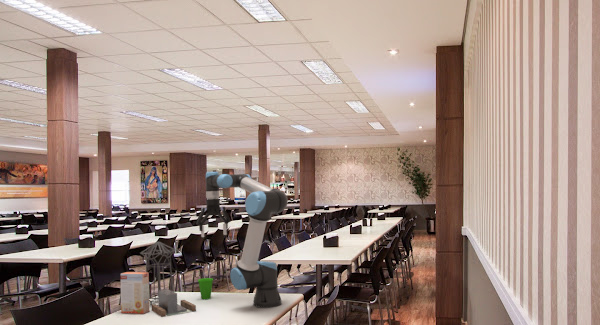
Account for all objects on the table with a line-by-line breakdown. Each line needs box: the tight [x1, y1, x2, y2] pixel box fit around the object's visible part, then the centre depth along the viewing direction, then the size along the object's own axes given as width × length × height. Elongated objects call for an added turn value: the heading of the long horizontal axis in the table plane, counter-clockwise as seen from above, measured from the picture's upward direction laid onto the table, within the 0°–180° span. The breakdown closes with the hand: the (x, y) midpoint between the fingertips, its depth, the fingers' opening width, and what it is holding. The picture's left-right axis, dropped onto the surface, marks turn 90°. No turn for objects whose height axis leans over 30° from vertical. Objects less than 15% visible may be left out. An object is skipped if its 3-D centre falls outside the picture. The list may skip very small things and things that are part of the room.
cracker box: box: [120, 271, 150, 315], centre depth 271 cm, size 14×6×21 cm, turn 71°
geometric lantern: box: [139, 241, 176, 306], centre depth 289 cm, size 16×16×35 cm
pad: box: [166, 309, 191, 317], centre depth 271 cm, size 18×12×1 cm, turn 32°
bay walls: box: [151, 299, 197, 318], centre depth 271 cm, size 18×18×3 cm
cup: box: [197, 277, 214, 301], centre depth 299 cm, size 9×9×11 cm
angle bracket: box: [157, 288, 188, 315], centre depth 271 cm, size 16×10×10 cm, turn 32°
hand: (214, 235), depth 293 cm, fingers open, 13 cm apart
